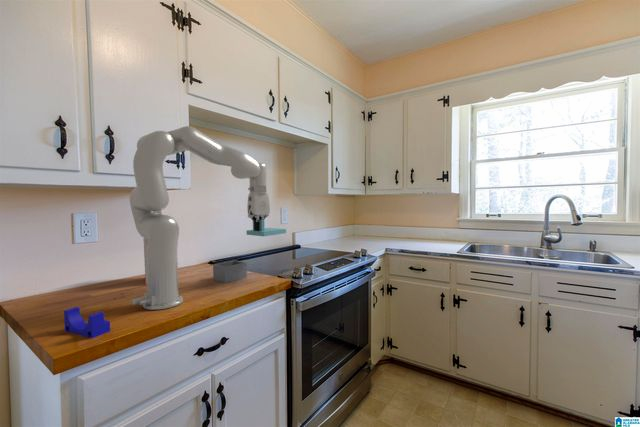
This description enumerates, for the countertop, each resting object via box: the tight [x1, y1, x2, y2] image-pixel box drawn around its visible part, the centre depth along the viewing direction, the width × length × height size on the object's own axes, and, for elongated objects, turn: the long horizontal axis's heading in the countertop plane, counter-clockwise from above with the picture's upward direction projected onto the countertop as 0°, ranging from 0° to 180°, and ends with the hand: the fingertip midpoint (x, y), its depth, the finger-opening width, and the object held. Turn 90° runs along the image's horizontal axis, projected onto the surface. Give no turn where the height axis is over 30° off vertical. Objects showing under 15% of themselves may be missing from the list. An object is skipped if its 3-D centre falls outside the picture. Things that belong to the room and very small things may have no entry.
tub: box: [212, 259, 248, 284], centre depth 137 cm, size 12×9×7 cm
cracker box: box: [143, 237, 148, 286], centre depth 132 cm, size 14×6×21 cm, turn 25°
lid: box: [246, 219, 287, 237], centre depth 138 cm, size 15×12×7 cm
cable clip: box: [63, 306, 111, 339], centre depth 82 cm, size 12×4×6 cm, turn 69°
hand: (258, 230), depth 134 cm, fingers closed on lid, 1 cm apart
